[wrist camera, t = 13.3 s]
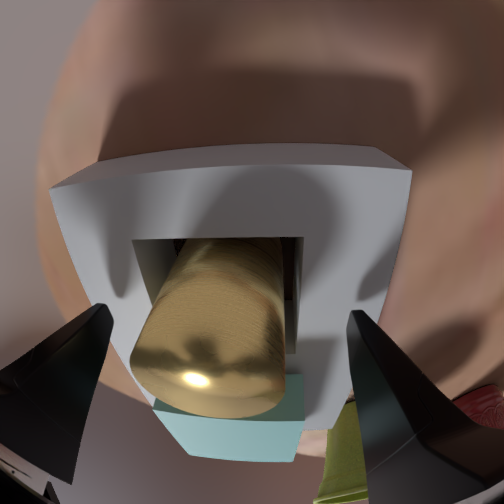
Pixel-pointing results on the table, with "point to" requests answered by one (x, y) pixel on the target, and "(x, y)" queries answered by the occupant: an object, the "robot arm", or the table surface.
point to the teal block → (242, 429)
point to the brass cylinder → (217, 329)
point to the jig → (245, 225)
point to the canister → (484, 406)
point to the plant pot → (344, 461)
